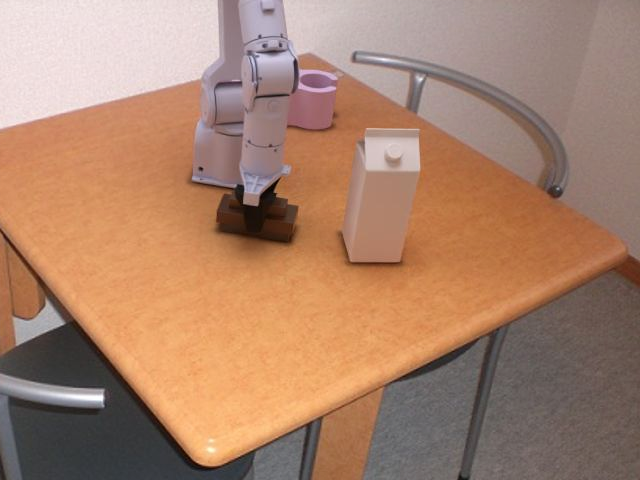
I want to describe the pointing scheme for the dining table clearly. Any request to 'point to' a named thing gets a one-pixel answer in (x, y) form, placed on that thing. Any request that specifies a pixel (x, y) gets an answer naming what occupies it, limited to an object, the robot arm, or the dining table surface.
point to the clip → (312, 100)
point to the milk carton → (381, 194)
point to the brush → (275, 224)
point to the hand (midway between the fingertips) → (256, 220)
